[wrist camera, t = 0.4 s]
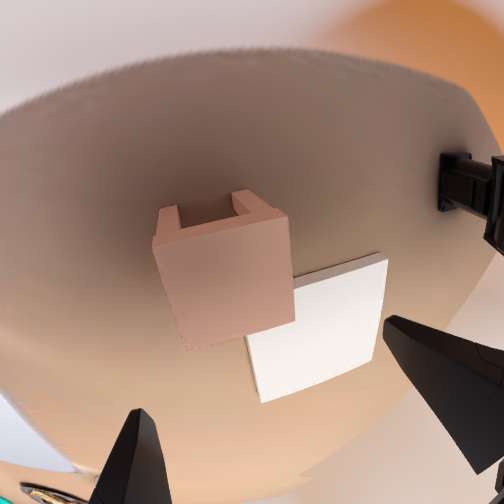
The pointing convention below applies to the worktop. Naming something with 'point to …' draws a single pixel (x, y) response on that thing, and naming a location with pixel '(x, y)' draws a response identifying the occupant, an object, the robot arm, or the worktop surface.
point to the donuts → (4, 501)
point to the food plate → (49, 496)
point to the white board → (321, 328)
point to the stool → (227, 271)
